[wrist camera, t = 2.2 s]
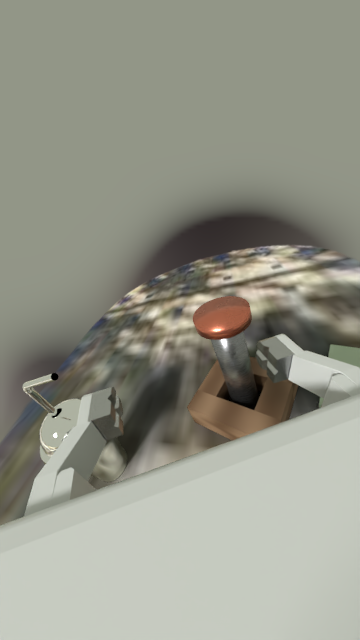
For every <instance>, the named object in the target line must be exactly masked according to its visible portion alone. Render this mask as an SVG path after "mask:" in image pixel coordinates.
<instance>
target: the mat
mask: <svg viewBox="0 0 360 640" xmlns="http://www.w3.org/2000/svg"><path fill="white" fill-rule="evenodd" d="M328 358H331V359H335V360H338V361H341V362H344V363H347V364H350V365H354V366H357V367H359V368H360V348H354V347H347V346H339V345H330V350H329V355H328ZM323 400H324V399H323V398H322V397H320V401H319V408H321V405H322V403H323Z"/></svg>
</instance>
